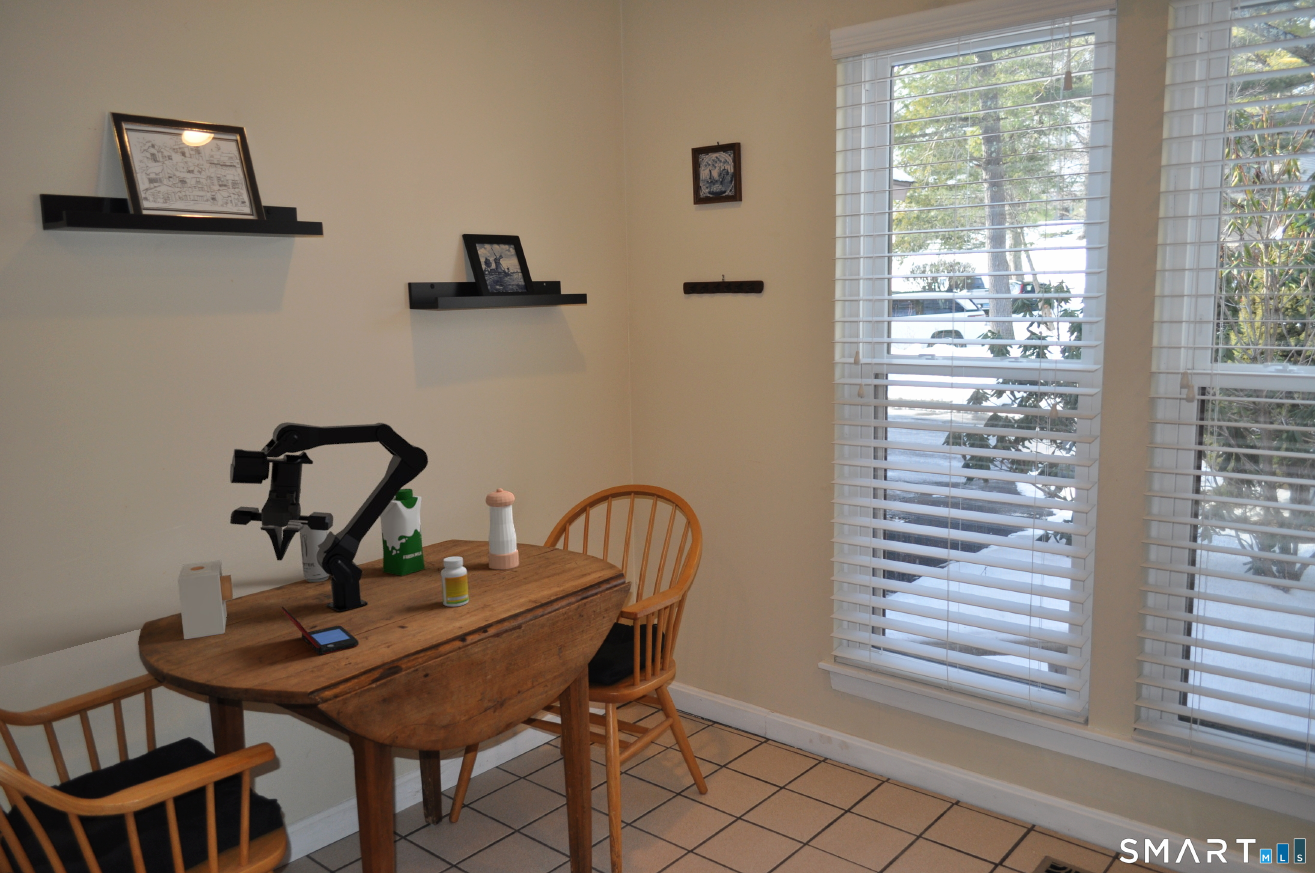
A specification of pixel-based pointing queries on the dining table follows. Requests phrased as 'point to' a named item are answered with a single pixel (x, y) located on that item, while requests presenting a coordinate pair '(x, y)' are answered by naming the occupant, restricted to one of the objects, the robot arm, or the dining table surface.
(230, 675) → the dining table surface
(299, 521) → the robot arm
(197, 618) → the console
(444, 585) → the supplement bottle
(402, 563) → the milk carton
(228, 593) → the button
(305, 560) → the energy drink can
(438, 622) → the dining table surface
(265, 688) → the dining table surface
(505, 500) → the pepper shaker
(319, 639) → the handheld game console
